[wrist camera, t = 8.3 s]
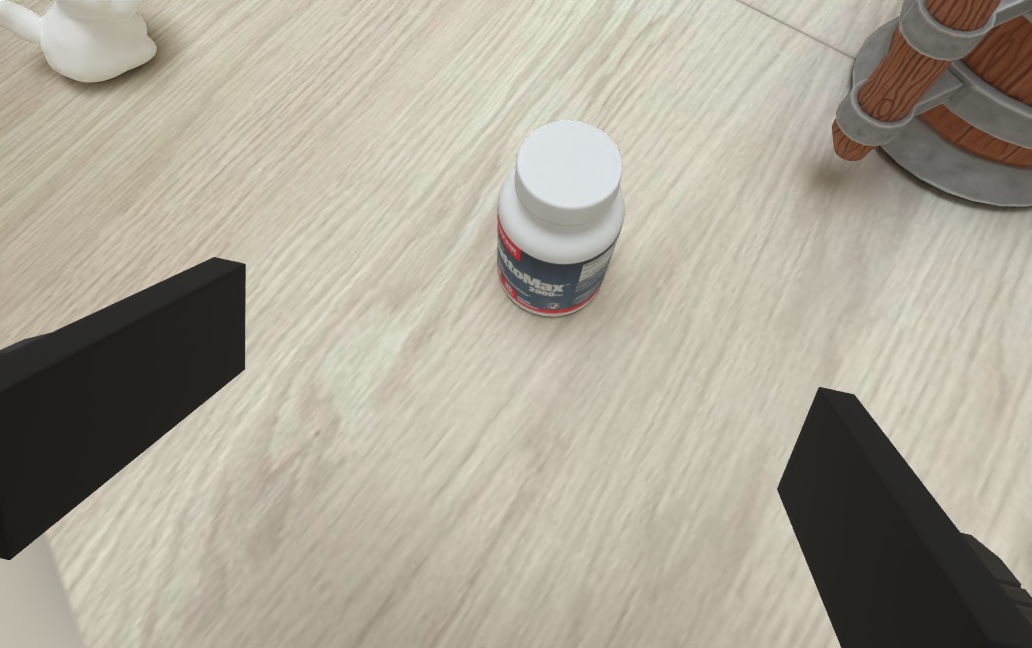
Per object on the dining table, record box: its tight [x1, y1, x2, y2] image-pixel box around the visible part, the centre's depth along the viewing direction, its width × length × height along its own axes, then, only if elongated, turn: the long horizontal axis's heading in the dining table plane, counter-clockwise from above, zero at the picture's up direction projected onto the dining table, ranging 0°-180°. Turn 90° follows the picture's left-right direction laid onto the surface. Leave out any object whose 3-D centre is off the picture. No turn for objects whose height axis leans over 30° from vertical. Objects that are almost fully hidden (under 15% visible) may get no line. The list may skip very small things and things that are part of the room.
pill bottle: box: [497, 120, 625, 316], centre depth 27 cm, size 5×5×9 cm
